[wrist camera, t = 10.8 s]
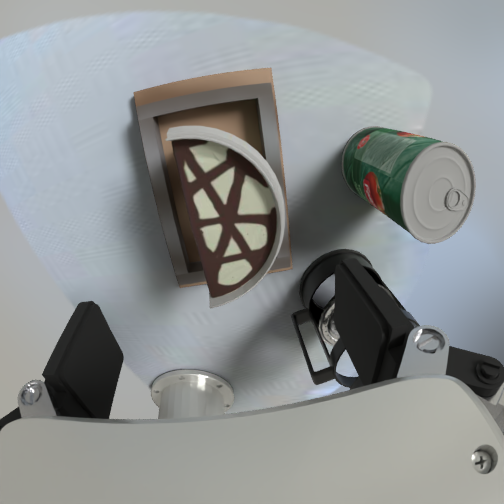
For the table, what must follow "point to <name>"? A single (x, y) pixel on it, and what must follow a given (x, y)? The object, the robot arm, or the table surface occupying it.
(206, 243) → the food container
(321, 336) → the french press
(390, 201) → the canned tomato
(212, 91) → the wooden tray
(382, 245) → the table surface
